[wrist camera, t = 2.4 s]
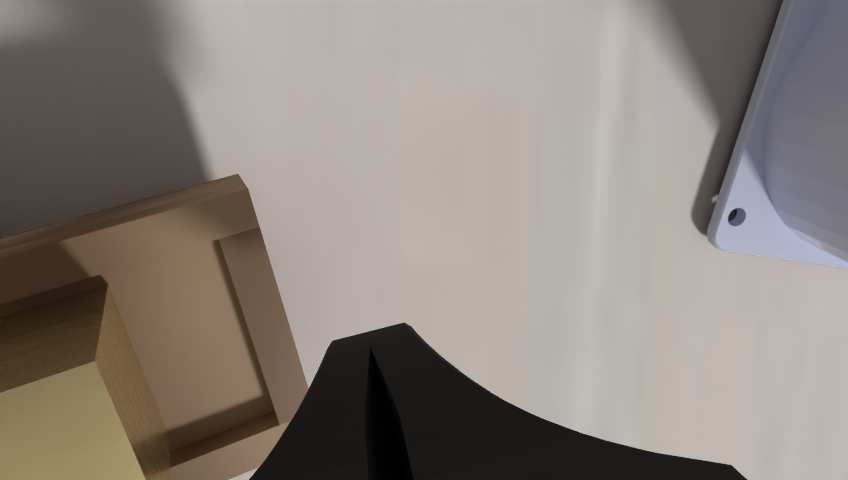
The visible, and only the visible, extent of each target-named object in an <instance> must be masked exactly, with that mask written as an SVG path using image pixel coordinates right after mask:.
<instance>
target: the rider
mask: <svg viewBox="0 0 848 480" xmlns="http://www.w3.org/2000/svg"><path fill="white" fill-rule="evenodd" d="M0 480H171V465H170V445H169V433H168V431H167V428H166V426H165V423H164V421H163V418H162V416H161V414H160V411H159V409H158V406H157V404H156V401H155V399H154V396H153V394H152V391H151V389H150V386H149V384H148V381H147V379H146V376H145V374H144V371H143V369H142V366H141V364H140V361H139V359H138V356H137V354H136V351H135V349H134V346H133V344H132V342H131V339H130V337H129V334H128V332H127V329H126V327H125V324H124V322H123V319H122V317H121V314H120V312H119V309H118V307H117V304H116V302H115V299H114V297H113V294H112V292H111V289H110V287H109V284H106V285H103V286H100V287H96V288H93V289H90V290H86V291H83V292H80V293H77V294H73V295H70V296H67V297H64V298H60V299H57V300H54V301H50V302H47V303H44V304H41V305H37V306H34V307H31V308H27V309H24V310H21V311H18V312H14V313H11V314H8V315H4V316H1V317H0Z"/></svg>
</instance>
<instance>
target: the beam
mask: <svg viewBox="0 0 848 480" xmlns="http://www.w3.org/2000/svg"><path fill="white" fill-rule="evenodd" d="M106 284H109V287H110V289H111V292H112V294H113V297H114V299H115V302H116V304H117V307H118V309H119V312H120V314H121V317H122V319H123V322H124V324H125V327H126V329H127V332H128V334H129V337H130V339H131V342H132V344H133V346H134V349H135V351H136V354H137V356H138V359H139V361H140V364H141V366H142V369H143V371H144V374H145V376H146V379H147V381H148V384H149V386H150V389H151V391H152V394H153V396H154V399H155V401H156V404H157V406H158V409H159V411H160V414H161V416H162V418H163V421H164V423H165V426H166V428H167V431H168V433H169V445H170V465H171V480H228V479H231V478H233V477H236V476H238V475H241V474H243V473H246V472H248V471H251V470H253V469H255V468H258V467H260V466H261V465H262V463H263V462H264V461H265V459H266V458H267V456H268V455H269V454H270V452H271V451H272V449H273V448H274V446H275V445H276V443H277V442H278V440H279V439H280V437H281V435H282V434H283V432H284V431H285V429H286V428H287V426H288V424H289V423H290V421H291V420H292V418H293V416H294V415H295V413H296V411H297V410H298V408H299V406H300V404H301V402H302V400H303V399H304V397H305V395H306V393H307V391H308V386H307V383H306V379H305V376H304V373H303V370H302V366H301V363H300V360H299V356H298V353H297V350H296V346H295V343H294V340H293V336H292V333H291V330H290V326H289V323H288V320H287V317H286V313H285V310H284V307H283V303H282V300H281V297H280V293H279V290H278V287H277V283H276V280H275V277H274V274H273V270H272V267H271V264H270V260H269V257H268V254H267V250H266V247H265V244H264V240H263V237H262V234H261V230H260V227H259V224H258V221H257V217H256V214H255V211H254V207H253V204H252V201H251V197H250V194H249V191H248V188H247V186H246V185H245V184H244V182H243V181H242V179H241V178H240V176H239V175H238V174H236V175H232V176H228V177H225V178H221V179H217V180H214V181H210V182H206V183H203V184H199V185H195V186H192V187H188V188H184V189H181V190H177V191H173V192H170V193H166V194H162V195H159V196H155V197H152V198H148V199H144V200H141V201H137V202H133V203H130V204H126V205H122V206H119V207H115V208H111V209H108V210H104V211H100V212H97V213H93V214H89V215H86V216H82V217H78V218H75V219H71V220H68V221H64V222H60V223H57V224H53V225H49V226H46V227H42V228H38V229H35V230H31V231H27V232H24V233H20V234H16V235H13V236H9V237H5V238H2V239H0V317H1V316H4V315H8V314H11V313H14V312H18V311H21V310H24V309H27V308H31V307H34V306H37V305H41V304H44V303H47V302H50V301H54V300H57V299H60V298H64V297H67V296H70V295H73V294H77V293H80V292H83V291H86V290H90V289H93V288H96V287H100V286H103V285H106Z"/></svg>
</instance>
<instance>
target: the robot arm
mask: <svg viewBox="0 0 848 480" xmlns="http://www.w3.org/2000/svg"><path fill="white" fill-rule="evenodd" d="M735 208H737V215H736V216H735V218H734V219H733V220H731V221H730V222H728V215H729V214H730V212H731V211H732V210H734V209H735ZM707 238H708V241H709V242H710V243H711V244H712V245H713V246H714V247H716V248H718V249H720V250H723V251H728V252H735V253H742V254H749V255H757V256H764V257H771V258H778V259H785V260H792V261H799V262H807V263H814V264H821V265H828V266H835V267H842V268H848V0H783V2H782V5H781V8H780V11H779V15H778V18H777V21H776V24H775V27H774V30H773V33H772V36H771V39H770V42H769V45H768V48H767V51H766V54H765V57H764V60H763V63H762V66H761V69H760V72H759V75H758V78H757V81H756V84H755V87H754V90H753V93H752V96H751V99H750V102H749V105H748V108H747V111H746V114H745V117H744V120H743V123H742V126H741V129H740V132H739V135H738V138H737V141H736V144H735V147H734V150H733V153H732V156H731V159H730V162H729V165H728V169H727V172H726V175H725V178H724V181H723V184H722V187H721V190H720V193H719V196H718V199H717V202H716V205H715V208H714V211H713V214H712V217H711V220H710V223H709V226H708V230H707ZM249 480H747V479H746V478H745V477H743V476H742V475H741V474H740V473H739V472H738V471H737V470H736V469H735V468H734V467H733V466H731V465H727V464H721V463H715V462H709V461H703V460H697V459H690V458H684V457H678V456H672V455H666V454H660V453H654V452H650V451H645V450H641V449H637V448H633V447H629V446H625V445H621V444H617V443H613V442H609V441H605V440H602V439H599V438H596V437H592V436H589V435H586V434H582V433H579V432H577V431H574V430H571V429H569V428H566V427H563V426H560V425H558V424H555V423H552V422H550V421H547V420H545V419H542V418H540V417H538V416H535V415H533V414H531V413H528V412H526V411H524V410H522V409H520V408H518V407H516V406H514V405H512V404H510V403H508V402H506V401H504V400H503V399H501V398H499V397H498V396H496V395H494V394H493V393H491V392H489V391H488V390H486V389H485V388H483V387H482V386H480V385H479V384H477V383H476V382H474V381H473V380H471V379H470V378H469V377H467V376H466V375H464V374H463V373H462V372H460V371H459V370H458V369H457V368H455V367H454V366H453V365H451V364H450V363H449V362H448V361H446V360H445V359H444V358H443V357H441V356H440V355H439V354H438V353H437V352H436V351H435V350H433V349H432V348H431V347H430V346H429V345H428V344H427V343H426V342H425V341H424V340H423V339H422V338H421V337H420V336H419V335H418V334H417V333H416V332H415V330H414V329H413V328H412V327H411V326H409V325H408V324H406V323H401V324H397V325H393V326H389V327H385V328H381V329H377V330H373V331H369V332H365V333H361V334H357V335H354V336H350V337H346V338H342V339H338V340H334V341H332V343H331V344H330V346H329V347H328V349H327V351H326V353H325V356H324V358H323V360H322V363H321V365H320V367H319V369H318V371H317V373H316V375H315V377H314V379H313V382H312V384H311V386H310V387H309V389H308V391H307V393H306V395H305V397H304V399H303V400H302V402H301V404H300V406H299V408H298V410H297V411H296V413H295V415H294V416H293V418H292V420H291V421H290V423H289V424H288V426H287V428H286V429H285V431H284V432H283V434H282V435H281V437H280V439H279V440H278V442H277V443H276V445H275V446H274V448H273V449H272V451H271V452H270V454H269V455H268V456H267V458H266V459H265V461H264V462H263V463H262V465H261V466H260V467H259V468H258V469H257V471H256V472H255V473H254V474H253V476H252V477H251V478H250V479H249Z"/></svg>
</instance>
